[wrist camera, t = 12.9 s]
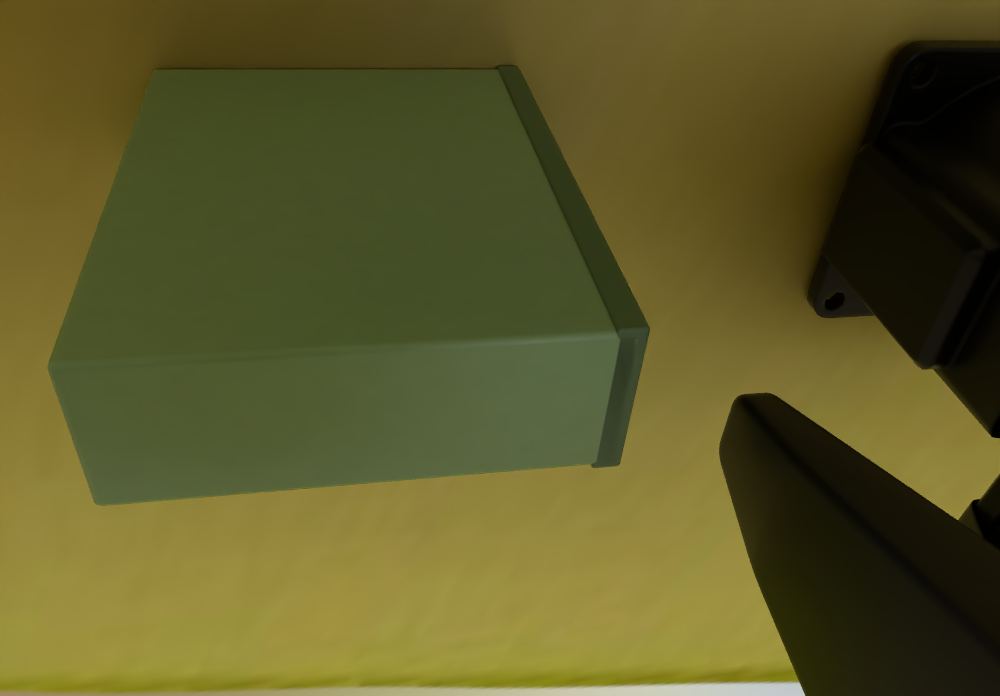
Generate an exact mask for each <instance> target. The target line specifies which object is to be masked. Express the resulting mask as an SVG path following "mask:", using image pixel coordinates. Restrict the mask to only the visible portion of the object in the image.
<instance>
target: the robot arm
mask: <svg viewBox="0 0 1000 696" xmlns="http://www.w3.org/2000/svg"><path fill="white" fill-rule="evenodd" d="M921 62H924V67H923V68H922V70H921V71H920V73H918V74H917V75H916V76H914V77H912V78H911V73H912V72H913V70H914V69H915V67H916V66H918V65H919V64H920V63H921ZM833 293H835V294H834V296H832V297H831V298H829V299H827V298H828V297H829V296H830V295H832V294H833ZM807 300H808V302H809V304H810V306H811V307H812V308H813V310H814V311H815V312H816V314H818V315H819V316H821V317H824V318H838V317H855V316H873V315H875V317H876V318H877V319H878V320H879V321H880V322H881V324H882V325H883V326H884V327H885V328H886V330H887V331H888V332H889V333H890V334H891V335H892V337H893V338H894V339H895V340H896V341H897V343H898V344H899V345H900V346H901V347H902V348H903V350H904V351H905V352H906V353H907V354H908V355H909V357H910V358H911V359H912V360H913V361H914V363H915V364H916V365H917V366H918V367H920V368H921V369H933V370H934V371H935V372H936V373H937V374H938V375H939V376H940V378H941V379H942V380H943V381H944V382H945V383H946V385H947V386H948V387H949V388H950V389H951V390H952V391H953V393H954V394H955V395H956V396H957V397H958V398H959V400H960V401H961V402H962V403H963V404H964V405H965V406H966V408H967V409H968V410H969V411H970V412H971V413H972V415H973V416H974V417H975V418H976V419H977V420H978V421H979V423H980V424H981V425H982V426H983V427H984V428H985V430H986V431H987V432H988V433H989V434H990V435H991V436H992V437H994V438H1000V42H995V41H919V42H914V43H911V44H909V45H908V46H906V47H904V48H902V50H901V51H900V52H899V53H898V54H897V55H896V56H895V57H894V59H893V61H892V62H891V64H890V66H889V69H888V72H887V75H886V77H885V80H884V83H883V86H882V88H881V91H880V94H879V97H878V99H877V102H876V105H875V108H874V111H873V113H872V116H871V119H870V122H869V124H868V127H867V130H866V133H865V136H864V138H863V141H862V144H861V147H860V149H859V152H858V153H857V155H856V156H855V159H854V162H853V165H852V167H851V170H850V173H849V176H848V179H847V181H846V184H845V187H844V190H843V192H842V195H841V198H840V201H839V204H838V206H837V209H836V212H835V215H834V217H833V220H832V223H831V226H830V229H829V231H828V234H827V237H826V240H825V242H824V245H823V248H822V255H821V257H820V260H819V263H818V266H817V269H816V271H815V274H814V277H813V280H812V282H811V285H810V288H809V291H808V295H807ZM719 455H720V461H721V465H722V469H723V472H724V475H725V479H726V482H727V486H728V489H729V492H730V496H731V499H732V502H733V506H734V509H735V513H736V516H737V519H738V523H739V526H740V529H741V533H742V536H743V540H744V543H745V546H746V550H747V553H748V556H749V559H750V562H751V565H752V568H753V571H754V574H755V577H756V579H757V582H758V584H759V587H760V589H761V592H762V594H763V597H764V599H765V601H766V604H767V606H768V608H769V611H770V613H771V616H772V618H773V620H774V623H775V625H776V627H777V630H778V632H779V634H780V637H781V639H782V642H783V644H784V646H785V649H786V651H787V653H788V656H789V658H790V660H791V663H792V665H793V668H794V670H795V672H796V675H797V677H798V679H799V682H800V684H801V686H802V689H803V691H804V693H805V696H1000V474H999V475H998V477H997V478H996V479H995V481H994V482H993V483H992V485H991V486H990V487H989V489H988V490H987V491H986V492H985V494H984V495H983V496H982V498H981V499H977V500H973V501H972V503H971V504H970V505H969V507H968V508H967V509H966V511H965V512H964V513H963V514H962V516H961V517H960V518H959V520H956V519H955V518H953V517H952V516H950V515H949V514H948V513H946V512H945V511H943V510H942V509H940V508H939V507H937V506H936V505H934V504H933V503H932V502H930V501H929V500H927V499H926V498H924V497H923V496H921V495H920V494H918V493H917V492H915V491H914V490H913V489H911V488H910V487H908V486H907V485H905V484H904V483H902V482H901V481H899V480H898V479H897V478H895V477H894V476H892V475H891V474H889V473H888V472H886V471H885V470H883V469H882V468H881V467H879V466H878V465H876V464H875V463H873V462H872V461H870V460H869V459H867V458H866V457H864V456H863V455H862V454H860V453H859V452H857V451H856V450H854V449H853V448H851V447H850V446H848V445H847V444H846V443H844V442H843V441H841V440H840V439H838V438H837V437H835V436H834V435H832V434H831V433H829V432H828V431H827V430H825V429H824V428H822V427H821V426H819V425H818V424H816V423H815V422H813V421H812V420H811V419H809V418H808V417H806V416H805V415H803V414H802V413H800V412H799V411H797V410H796V409H795V408H793V407H792V406H790V405H789V404H787V403H786V402H784V401H783V400H781V399H780V398H778V397H777V396H775V395H773V394H771V393H755V394H743V395H740V396H738V397H737V398H736V399H735V400H734V402H733V404H732V407H731V410H730V413H729V416H728V419H727V422H726V425H725V428H724V432H723V435H722V438H721V441H720V447H719Z"/></svg>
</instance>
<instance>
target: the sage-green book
mask: <svg viewBox="0 0 1000 696" xmlns="http://www.w3.org/2000/svg"><path fill="white" fill-rule="evenodd" d="M649 331H650V328H649V325H648V323H647V321H646V319H645V317H644V315H643V313H642V311H641V309H640V307H639V306H638V304H637V302H636V300H635V298H634V296H633V294H632V292H631V290H630V288H629V286H628V284H627V282H626V280H625V278H624V276H623V274H622V272H621V270H620V268H619V266H618V264H617V262H616V260H615V258H614V256H613V254H612V252H611V250H610V248H609V246H608V244H607V242H606V240H605V238H604V236H603V234H602V232H601V230H600V228H599V226H598V224H597V222H596V220H595V218H594V216H593V214H592V212H591V210H590V208H589V206H588V204H587V202H586V200H585V198H584V196H583V194H582V192H581V190H580V188H579V186H578V185H577V183H576V181H575V179H574V177H573V175H572V173H571V171H570V169H569V167H568V165H567V163H566V161H565V159H564V157H563V155H562V153H561V151H560V149H559V147H558V145H557V143H556V141H555V139H554V137H553V135H552V133H551V131H550V129H549V127H548V125H547V123H546V121H545V119H544V117H543V115H542V113H541V111H540V109H539V107H538V105H537V103H536V101H535V99H534V97H533V95H532V93H531V91H530V89H529V87H528V85H527V83H526V81H525V79H524V77H523V75H522V73H521V71H520V69H519V67H518V66H498V68H497V69H157V70H154V71H153V72H152V75H151V78H150V80H149V83H148V86H147V89H146V92H145V94H144V97H143V100H142V103H141V106H140V108H139V111H138V114H137V117H136V120H135V122H134V125H133V128H132V131H131V134H130V136H129V139H128V142H127V145H126V148H125V150H124V153H123V156H122V159H121V162H120V164H119V167H118V170H117V173H116V176H115V178H114V181H113V184H112V187H111V190H110V192H109V195H108V198H107V201H106V204H105V206H104V209H103V212H102V215H101V218H100V220H99V223H98V226H97V229H96V232H95V234H94V237H93V240H92V243H91V246H90V248H89V251H88V254H87V257H86V260H85V262H84V265H83V268H82V271H81V274H80V276H79V279H78V282H77V285H76V288H75V290H74V293H73V296H72V299H71V302H70V304H69V307H68V310H67V313H66V316H65V318H64V321H63V324H62V327H61V330H60V332H59V335H58V338H57V341H56V344H55V346H54V349H53V352H52V355H51V358H50V360H49V363H48V370H49V373H50V376H51V379H52V382H53V385H54V388H55V390H56V393H57V396H58V399H59V402H60V405H61V408H62V411H63V413H64V416H65V419H66V422H67V425H68V428H69V431H70V433H71V436H72V439H73V442H74V445H75V448H76V451H77V453H78V456H79V459H80V462H81V465H82V468H83V471H84V474H85V476H86V479H87V482H88V485H89V488H90V491H91V494H92V496H93V499H94V502H95V503H96V504H97V505H100V506H107V505H119V504H130V503H142V502H154V501H165V500H177V499H189V498H201V497H212V496H224V495H236V494H248V493H259V492H271V491H283V490H294V489H306V488H318V487H330V486H341V485H353V484H365V483H376V482H388V481H400V480H412V479H423V478H435V477H447V476H459V475H470V474H482V473H494V472H505V471H517V470H529V469H541V468H552V467H564V466H576V465H588V464H591V466H592V467H593V468H599V467H611V466H618V465H619V464H620V460H621V456H622V452H623V447H624V443H625V438H626V434H627V429H628V425H629V420H630V416H631V411H632V407H633V402H634V398H635V394H636V389H637V385H638V380H639V376H640V371H641V367H642V362H643V358H644V353H645V349H646V345H647V340H648V336H649Z"/></svg>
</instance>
